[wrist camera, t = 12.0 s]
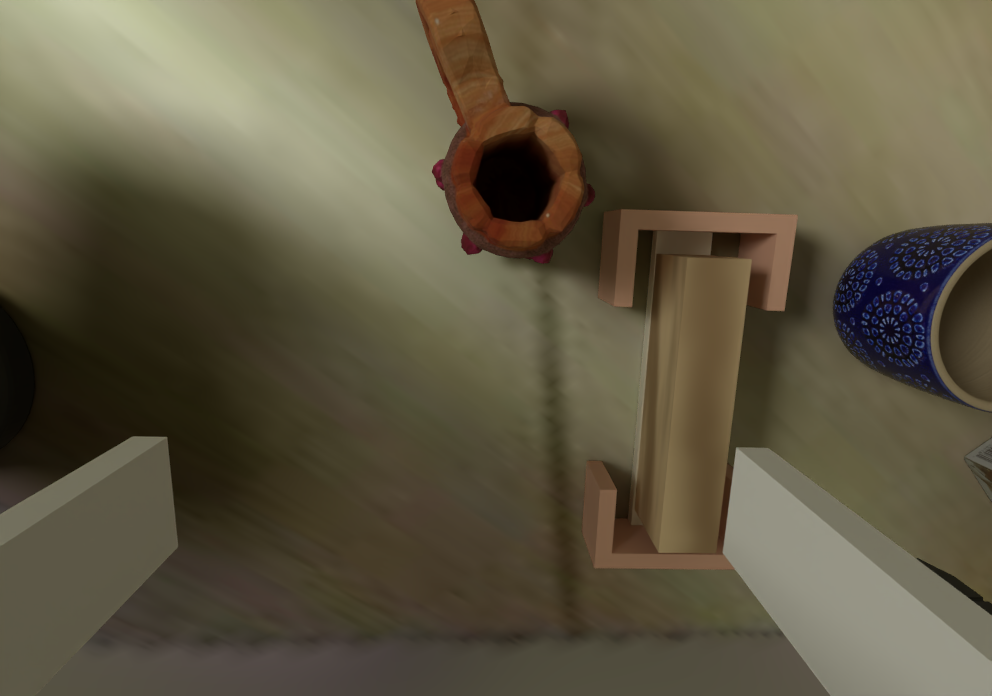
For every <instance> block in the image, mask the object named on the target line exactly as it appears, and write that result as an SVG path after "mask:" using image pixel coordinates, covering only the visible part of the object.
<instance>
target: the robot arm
mask: <svg viewBox="0 0 992 696" xmlns="http://www.w3.org/2000/svg"><path fill="white" fill-rule="evenodd" d="M33 394H34V374H33V367H32V362H31V358H30V355H29V352H28V349H27V346H26V344H25V342H24V340H23V338H22V336H21V334H20V332H19V330H18V329H17V327H16V325H15V324H14V323H13V321H12V320H11V318H10V317H9V316H8V315H7V313H6V312H5V311H4V310H3V309H2V308H1V307H0V448H2V447H3V446H4V445H6V444H7V443H8V442H9V441H10V440H11V439H12V438H13V437H14V436H15V435H16V434H17V433H18V431H19V430H20V429H21V427H22V426H23V424H24V422H25V420H26V418H27V416H28V414H29V411H30V408H31V405H32V400H33ZM177 547H178V540H177V530H176V520H175V510H174V500H173V490H172V480H171V470H170V460H169V450H168V440H167V437H139V436H133V437H131V438H129V439H127V440H126V441H124V442H122V443H121V444H119V445H117V446H116V447H114V448H112V449H110V450H109V451H107V452H105V453H104V454H102V455H100V456H99V457H97V458H95V459H93V460H92V461H90V462H88V463H87V464H85V465H83V466H82V467H80V468H78V469H76V470H75V471H73V472H71V473H70V474H68V475H66V476H65V477H63V478H61V479H59V480H58V481H56V482H54V483H53V484H51V485H49V486H48V487H46V488H44V489H42V490H41V491H39V492H37V493H36V494H34V495H32V496H31V497H29V498H27V499H25V500H24V501H22V502H20V503H19V504H17V505H15V506H14V507H12V508H10V509H8V510H7V511H5V512H3V513H2V514H0V696H35V695H36V694H37V693H38V692H39V691H40V690H41V689H42V688H43V687H44V686H45V685H46V684H47V683H48V682H49V681H50V680H51V678H52V677H53V676H54V675H55V674H56V673H57V672H58V671H59V670H60V669H61V668H62V667H63V666H64V665H65V664H66V663H67V662H68V661H69V660H70V659H71V658H72V657H73V656H74V655H75V654H76V652H77V651H78V650H79V649H80V648H81V647H82V646H83V645H84V644H85V643H86V642H87V641H88V640H89V639H90V638H91V637H92V636H93V635H94V634H95V633H96V632H97V631H98V630H99V629H100V627H101V626H102V625H103V624H104V623H105V622H106V621H107V620H108V619H109V618H110V617H111V616H112V615H113V614H114V613H115V612H116V611H117V610H118V609H119V608H120V607H121V606H122V605H123V604H124V602H125V601H126V600H127V599H128V598H129V597H130V596H131V595H132V594H133V593H134V592H135V591H136V590H137V589H138V588H139V587H140V586H141V585H142V584H143V583H144V582H145V581H146V580H147V579H148V578H149V576H150V575H151V574H152V573H153V572H154V571H155V570H156V569H157V568H158V567H159V566H160V565H161V564H162V563H163V562H164V561H165V560H166V559H167V558H168V557H169V556H170V555H171V554H172V553H173V551H174V550H175V549H176V548H177ZM723 554H724V555H725V557H726V558H727V559H728V561H729V562H730V563H731V565H732V566H733V567H734V569H735V570H736V571H737V573H738V574H739V575H740V576H741V578H742V579H743V580H744V582H745V583H746V584H747V586H748V587H749V588H750V590H751V591H752V592H753V594H754V595H755V596H756V598H757V599H758V600H759V602H760V603H761V604H762V606H763V607H764V608H765V610H766V611H767V612H768V614H769V615H770V616H771V618H772V619H773V620H774V622H775V623H776V624H777V625H778V627H779V628H780V629H781V631H782V632H783V633H784V635H785V636H786V637H787V639H788V640H789V641H790V643H791V644H792V645H793V647H794V648H795V649H796V651H797V652H798V653H799V655H800V656H801V657H802V658H803V660H804V661H805V663H806V664H807V665H808V667H809V668H810V669H811V671H812V672H813V673H814V674H815V676H816V677H817V678H818V680H819V681H820V682H821V684H822V685H823V686H824V688H825V689H826V690H827V692H828V693H829V694H830V696H992V604H991V603H990V602H984V601H983V597H982V596H980V595H979V594H978V593H976V592H975V591H973V590H972V589H971V588H969V587H968V586H967V585H965V584H964V583H962V582H961V581H960V580H958V579H957V578H956V577H954V576H952V575H950V574H948V573H946V572H944V571H942V570H940V569H938V568H936V567H934V566H932V565H930V564H928V563H926V562H924V561H922V560H920V559H918V558H914V557H913V556H912V555H910V554H909V553H908V552H906V551H905V550H904V549H902V548H901V547H900V546H898V545H897V544H896V543H894V542H893V541H892V540H890V539H889V538H888V537H886V536H885V535H884V534H882V533H881V532H880V531H878V530H877V529H876V528H874V527H873V526H872V525H870V524H869V523H868V522H866V521H865V520H864V519H862V518H861V517H860V516H858V515H857V514H856V513H854V512H853V511H852V510H850V509H849V508H848V507H846V506H845V505H844V504H842V503H841V502H840V501H838V500H837V499H836V498H834V497H833V496H832V495H830V494H829V493H828V492H826V491H825V490H824V489H822V488H821V487H820V486H818V485H817V484H816V483H814V482H813V481H812V480H810V479H809V478H808V477H806V476H805V475H804V474H802V473H801V472H800V471H798V470H797V469H796V468H794V467H793V466H792V465H790V464H789V463H788V462H786V461H785V460H784V459H782V458H781V457H780V456H778V455H777V454H776V453H774V452H773V451H772V450H770V449H769V448H746V447H736V454H735V462H734V469H733V477H732V485H731V493H730V500H729V508H728V516H727V524H726V531H725V539H724V547H723Z"/></svg>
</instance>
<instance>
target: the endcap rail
mask: <svg viewBox="0 0 992 696" xmlns="http://www.w3.org/2000/svg"><path fill="white" fill-rule="evenodd" d="M797 218H798V215H784V214H753V213H723V212H692V211H662V210H631V209H619V210H613V211H607V212H604V217H603V232H602V246H601V261H600V275H599V290H598V298H600V299H601V300H603V301H605V302H607V303H609V304H610V305H612V306H614V307H632V302H633V290H634V278H635V266H636V254H637V241H638V230H651V231H653V237H652V248H651V260H650V271H649V283H648V294H647V305H646V317H645V328H644V340H643V351H642V362H641V374H640V385H639V396H638V408H637V419H636V431H635V442H634V453H633V465H632V476H631V488H630V499H629V510H628V519H615V508H616V496H617V489H616V487H615V485H614V483H613V481H612V479H611V478H610V476H609V474H608V472H607V470H606V468H605V466H604V464H603V462H602V461H587V463H586V478H585V492H584V507H583V521H582V534H583V537H584V539H585V542H586V545H587V548H588V551H589V554H590V557H591V560H592V563H593V566H594V568H621V569H716V570H735V569H734V567H733V566H732V565H731V563H730V562H729V561H728V559H727V558H726V557H725V555H724V554H723V547H724V539H725V531H726V524H727V516H728V508H729V500H730V493H731V485H732V477H733V469H734V468H733V467H732V466H731V465H729V464H728V463H727V468H726V476H725V484H724V492H723V500H722V509H721V517H720V525H719V533H718V541H717V550H716V553H658V551H657V549H656V547H655V545H654V544H653V542H652V540H651V538H650V536H649V535H648V533H647V531H646V529H645V527H644V526H643V524H642V522H641V520H640V518H639V517H638V515H637V513H636V511H635V497H636V485H637V474H638V462H639V451H640V439H641V427H642V416H643V404H644V393H645V381H646V370H647V358H648V346H649V335H650V323H651V312H652V300H653V288H654V277H655V265H656V254H685V255H710V254H711V245H712V236H713V232H714V233H741V236H740V244H739V252H738V258H744V259H752V263H751V271H750V280H749V288H748V296H747V304H746V305H748V306H752V307H755V308H759V309H763V310H766V311H785V304H786V296H787V289H788V282H789V275H790V268H791V261H792V254H793V247H794V240H795V232H796V225H797Z"/></svg>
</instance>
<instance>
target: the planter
mask: <svg viewBox="0 0 992 696" xmlns="http://www.w3.org/2000/svg"><path fill="white" fill-rule="evenodd" d="M833 317H834V322H835V327H836V330H837V332H838V335H839V337H840V338H841V340H842V342H843V344H844V345H845V347H846V348H847V349H848V351H849V352H850V353H851V354H852V355H853V356H854V357H856V358H857V359H858V360H859V361H861V362H862V363H863V364H865V365H866V366H868V367H870V368H871V369H873V370H875V371H877V372H879V373H881V374H883V375H885V376H888V377H890V378H892V379H894V380H896V381H899V382H901V383H904V384H906V385H909V386H911V387H914V388H917V389H919V390H922V391H924V392H927V393H929V394H932V395H935V396H938V397H941V398H944V399H947V400H950V401H952V402H955V403H958V404H961V405H964V406H968V407H971V408H974V409H978V410H982V411H986V412H992V223H979V224H954V225H941V226H930V227H923V228H915V229H909V230H905V231H902V232H898V233H895V234H892V235H889V236H887V237H884V238H882V239H880V240H879V241H877V242H875V243H874V244H872V245H871V246H869V247H868V248H866V249H865V250H864V251H862V252H861V253H860V254H859V255H858V256H857V257H856V258H855V259H854V260H853V261H852V262H851V263H850V265H849V266H848V267H847V268H846V270H845V271H844V273H843V275H842V276H841V278H840V280H839V282H838V285H837V288H836V291H835V295H834V300H833Z"/></svg>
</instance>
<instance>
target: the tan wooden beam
mask: <svg viewBox="0 0 992 696" xmlns="http://www.w3.org/2000/svg"><path fill="white" fill-rule="evenodd" d="M751 263H752V259H744V258H734V257H725V256H715V255H685V254H656V265H655V277H654V288H653V300H652V312H651V323H650V335H649V346H648V358H647V370H646V381H645V393H644V404H643V416H642V427H641V439H640V451H639V462H638V474H637V485H636V497H635V511H636V513H637V515H638V517H639V518H640V520H641V522H642V524H643V526H644V527H645V529H646V531H647V533H648V535H649V536H650V538H651V540H652V542H653V544H654V545H655V547H656V549H657V551H658V553H716V550H717V541H718V533H719V525H720V517H721V509H722V500H723V492H724V484H725V476H726V468H727V460H728V451H729V443H730V435H731V427H732V419H733V410H734V402H735V394H736V386H737V378H738V370H739V361H740V353H741V345H742V337H743V329H744V320H745V312H746V304H747V296H748V288H749V280H750V271H751Z"/></svg>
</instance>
